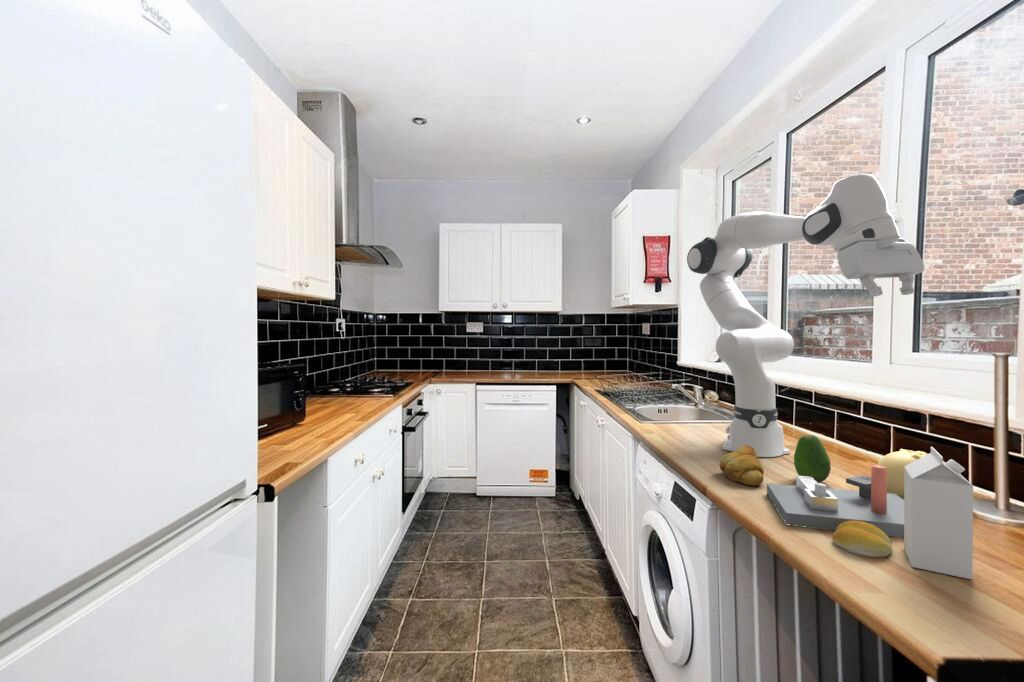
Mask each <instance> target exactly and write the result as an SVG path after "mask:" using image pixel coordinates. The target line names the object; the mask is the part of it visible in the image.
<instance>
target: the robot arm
mask: <svg viewBox="0 0 1024 682" xmlns="http://www.w3.org/2000/svg"><path fill="white" fill-rule="evenodd" d="M797 241H806V242H807V243H809V244H811V245H813V246H815V245H816V246H832V247H833V250H834V251H835V252H836V256H837V257H836V258H837V262H838V265H839V268H840V271H841V274H842V275H843V276H844V278H846V279H847V280H860V283H861V285H862V286H863V287H864V288H865V289H866V290H867V292H868V294H869V296H870V297H871V298H872V297H879V296H882V295H883V290H882V286H878V284H877V283H876V282H875V279H887V278H888V279H890V278H898V280H899V281H900V282H901V287H899V292H900V294H901V295H902V296H908V295H913V294H915V289H914V286H913V285H914V280H915V276H916V275H918V274H921V273H923V272H924V271H925V264H924V262H923V260H922V257H921V256H920V254H919V252H918V250H917V248H916V246H915V245H913V243H911V242H909V241H907V240H905V238H902V237H901V235H900V231H899V230H898V227H897V224H896V221H895V219H894V216H893V215H892V214H891V213H890V210H889V209H888V200H887V197H886V194H885V191H884V189H883V187H882V186H881V184H880V181H879V180H878V179H877V177H876V176H875V175H874V174H870V173H856V174H851V175H848V176H846V177H845V176H844V177H842V178H841V179H839V180H837V181H836V182H835V183H834V184H833V185H832V188H831V191H830V193H829V194H828V195H827V197H826V198H825V199H824V200H823V201H822V202H821V203H820V204H819V205H818V206H817V207H816V208H814V209H812V210H811V211H809V213H807V215H806V216H795V215H789V214H783V213H782V214H780V213H775V212H767V211H752V212H743V213H738V214H736V215H733V216H731V217H728V218H725V219H724V220H722V221H721V222H720V224H719V226H718V228H717V233H716V235H715V236H714V237H713V238H712V237H709V236H707V237H705V238H703V239H702V240H701V241H699V242H697V243H695V244H694V245H692V247H690V249H689V250H688V253H687V255H686V262H687V267H688V268H689V270H690V271H691V272H693V273H695V274H701V275H705V274H706V275H705V276H704V277H703V278H702V279H701V281H700V284H699V289H700V293H701V295H702V298H703V300H704V302H705V304H706V306H707V308H708V310H709V311H710V313H711V314H712V315H713V318H714V320H716V322H717V323H718V325H719V326H720V327H721V328H722V329H724V330H726V331H725V332H722V333H721V334H719V336H718V337H717V339H716V342H715V352H716V354H717V356H718V357H719V359H720V360H721V361H722V362H723V363H725V364H726V365H727V367H728V368H729V370H730V372H731V375H732V379H733V382H734V392H735V396H734V397H735V398H734V399H735V405H734V407H733V417H734V418H733V419H732V421H731V423H730V424H729V425H726V426H725V433H726V434H727V436H725V439H724V442H723V445H722V450H725V451H728V452H735V451H736V450H738V449H739V448H740V447H742V446H745V445H747V446H748V445H749V446H751V447H752V448H754V450H755V451H756V453H757V456H758V458H775V457H780V456H782V455H787V454H791V450H790V449H789V448H787V447H785V444H784V443H785V442H784V441H785V440H784V428H783V426H782V425H781V424H780V423H779V422H778V421H777V420H778V415H779V413H778V408H777V407H776V383H775V381H774V380H773V379H772V378H771V377H769V376H768V375H767V374H766V373H765V370H764V368H763V363H765V364H766V363H773V362H774V363H775V362H778V361H781V360H783V359H786V358H788V357H789V356H791V355H792V353H793V351H794V346H795V343H794V342H795V341H794V339H793V336H792V335H791V334H790V333H789V332H788V331H786V330H784V329H781V328H779V327H778V326H776V325H774V324H772V323H771V322H770V321H769V320H767V319H766V318H765V317H764V316H762V315H761V314H760V313H759V312H757V311H756V310H755V309H754V307H752V305H751V304H750V303H749V301H748V300H747V299H746V297H745V296H744V294H743V293H742V292H741V290H740V289H739V288H738V286H737V285H736V283H735V281H734V278H739V277H741V276H743V275H742V274H743V272H744V271H746V270H747V269H748V267H750V264H751V263H752V260H753V255H754V253H753V249H762V248H767V247H772V246H778V245H782V244H786V243H792V242H797Z"/></svg>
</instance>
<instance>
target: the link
mask: <svg viewBox="0 0 1024 682" xmlns="http://www.w3.org/2000/svg"><path fill="white" fill-rule="evenodd" d="M815 483H818V482H816V481H815V480H814V479H813V478H812V477H809V476H799V475H796V486H797V487H798V489H799V490H800V491H801V492H802V493H803V494H804V500H805V502H806V503H807V504H808V505H809V507H810V508H811V509H818V510H829V511H838V499H837V498H836V497H835V496H834V495H833V494H832V493H831V492H830V491H826V497H824V496H815Z"/></svg>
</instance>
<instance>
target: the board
mask: <svg viewBox="0 0 1024 682" xmlns="http://www.w3.org/2000/svg"><path fill="white" fill-rule="evenodd" d="M845 483H846V484H849V485H851V486H854V487H858V490H852V489H850V490H849V489H839V488H830V487H829V488H827V484H825V483H821V482H817V483H815V496H824V497H826V491H830V492H831V493H832V494H833V495H834V496H835V497H836V498H837V499H838V511H829V510H818V509H811V508H810V507H809V505H808V504H807V503H806V502H805V500H804V494H803V493H802V492H801V491H800V490H799V489H798V487H797V485H789V484H776V483H775V484H774V483H766V494H768V495H769V496H768V495H767V496H768V498H769V497H770V498H771V499H770V498H769V499H770V501H771V500H772V501H773V503H774V504H775V506H776V507H775V506H774V507H775V509H776V508H777V509H778V511H779V512H778V511H777V512H778V514H779V513H780V514H781V515H780V514H779V515H780V517H781V516H782V517H783V519H784V520H785V522H786V523H785V522H784V523H785V525H786V524H790V525H797V526H796V527H800V526H806V527H805V528H809V527H812V529H819V530H821V529H822V530H831V531H836V528H837V527H838V525H840V524H842V523H844V522H847V521H862V522H866V523H869V524H872V525H874V526H876V527H877V528H879V529H880V530H882V531H883V532H884V533H885V534H886V535H887V536H888V537H896V538H897V537H898V538H904V498H902V497H899V496H898V495H897V494H893V493H887V513H886V514H880V513H875V512H873V511H871V476H870V475H869V476H867V475H858V476H851V477H850V476H849V477H846V478H845ZM772 501H771V502H772ZM773 503H772V504H773ZM774 504H773V505H774ZM777 509H776V510H777ZM782 517H781V518H782ZM783 519H782V520H783ZM784 520H783V521H784ZM790 525H789V526H790Z"/></svg>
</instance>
